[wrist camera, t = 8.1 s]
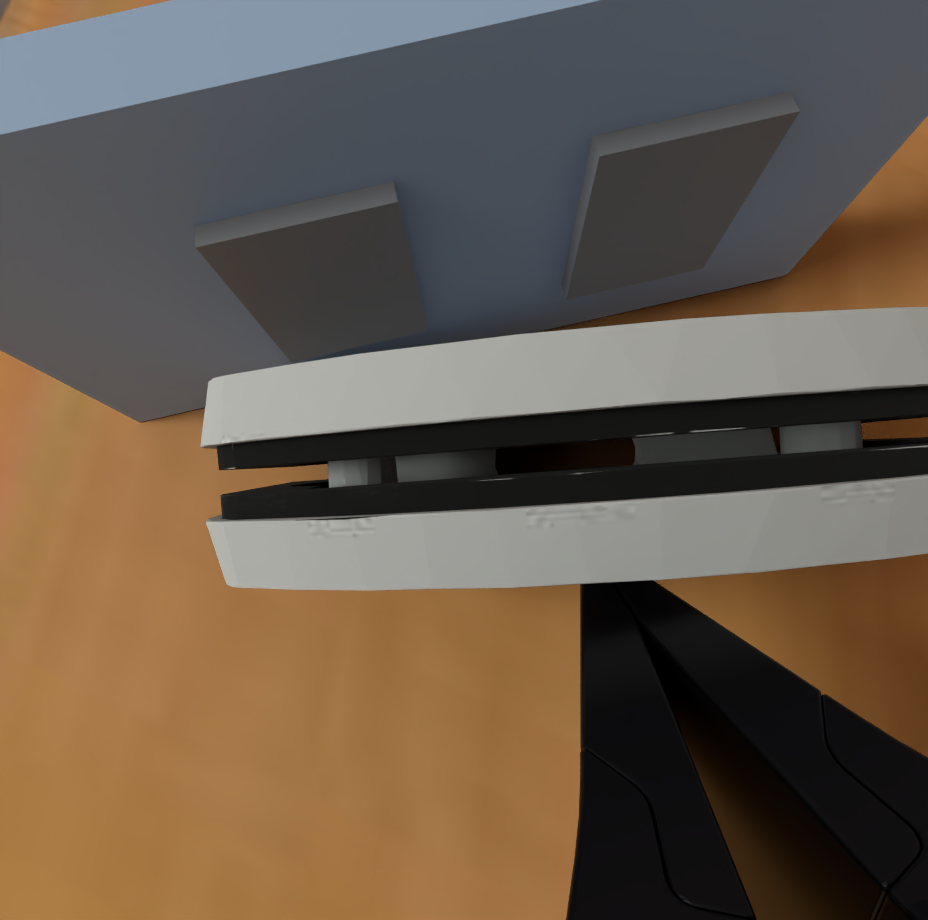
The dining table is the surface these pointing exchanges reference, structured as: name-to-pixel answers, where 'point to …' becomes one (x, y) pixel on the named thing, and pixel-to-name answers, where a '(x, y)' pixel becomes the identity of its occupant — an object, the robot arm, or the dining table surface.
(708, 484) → the white black-striped curved device
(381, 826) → the dining table surface
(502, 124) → the cabinet side panel
